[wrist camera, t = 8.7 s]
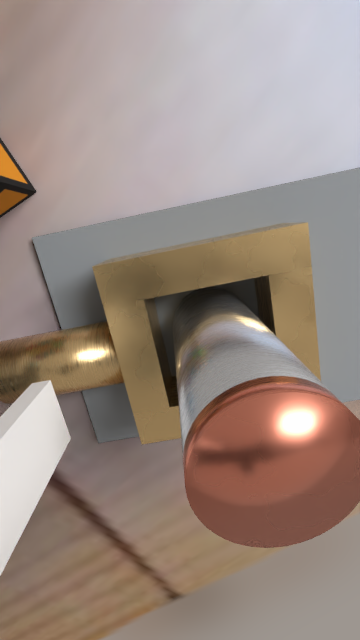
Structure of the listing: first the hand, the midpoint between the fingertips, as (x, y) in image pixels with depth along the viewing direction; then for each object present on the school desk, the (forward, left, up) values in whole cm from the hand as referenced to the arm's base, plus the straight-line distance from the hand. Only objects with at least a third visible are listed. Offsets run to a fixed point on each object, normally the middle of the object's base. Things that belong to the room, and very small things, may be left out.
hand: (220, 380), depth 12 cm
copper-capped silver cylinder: (0, 0, -7) cm, 7 cm away
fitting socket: (-3, 0, -7) cm, 8 cm away
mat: (+1, 0, -8) cm, 8 cm away
